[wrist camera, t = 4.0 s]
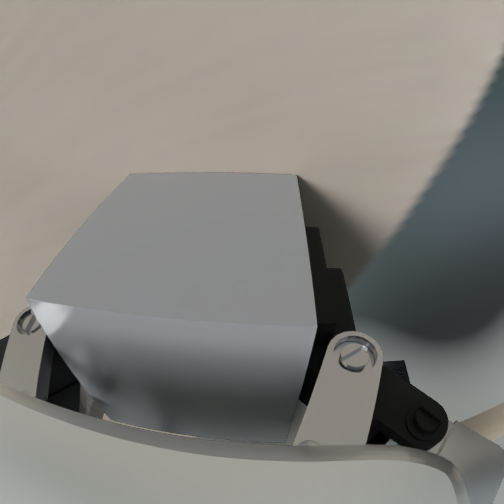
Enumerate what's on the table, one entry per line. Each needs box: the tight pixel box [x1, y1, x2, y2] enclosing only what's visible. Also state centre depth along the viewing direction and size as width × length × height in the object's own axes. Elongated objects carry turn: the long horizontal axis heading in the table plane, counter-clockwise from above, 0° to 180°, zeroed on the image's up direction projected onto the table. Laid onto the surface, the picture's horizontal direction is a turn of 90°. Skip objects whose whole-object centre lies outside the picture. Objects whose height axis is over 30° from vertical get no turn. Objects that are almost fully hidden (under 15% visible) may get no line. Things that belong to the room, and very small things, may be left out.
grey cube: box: [25, 173, 317, 443], centre depth 9 cm, size 6×6×6 cm
